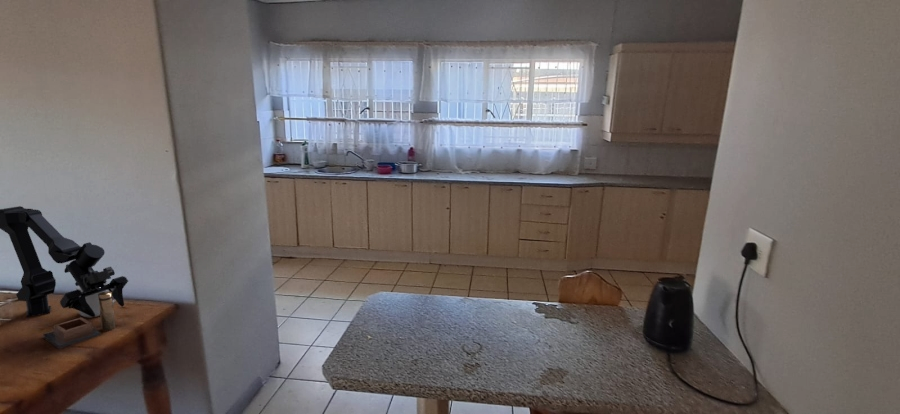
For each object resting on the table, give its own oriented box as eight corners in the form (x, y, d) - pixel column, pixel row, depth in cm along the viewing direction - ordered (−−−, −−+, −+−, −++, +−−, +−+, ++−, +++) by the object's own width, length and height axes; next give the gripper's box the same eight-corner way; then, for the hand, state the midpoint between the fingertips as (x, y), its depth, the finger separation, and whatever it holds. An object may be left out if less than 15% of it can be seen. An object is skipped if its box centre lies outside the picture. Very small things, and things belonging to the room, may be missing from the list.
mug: (80, 320, 154) (76, 291, 152) (78, 311, 160) (75, 283, 158) (121, 312, 162) (119, 284, 160) (119, 304, 168) (116, 277, 166)
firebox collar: (43, 337, 142) (41, 326, 141) (84, 324, 151) (83, 314, 150) (59, 348, 136) (57, 337, 135) (100, 334, 145) (99, 324, 145)
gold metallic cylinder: (101, 327, 150) (97, 292, 147) (114, 325, 152) (111, 290, 150) (102, 332, 147) (98, 296, 145) (115, 329, 150) (111, 294, 147)
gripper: (61, 270, 138) (87, 309, 136) (122, 254, 155) (146, 289, 154) (48, 288, 142) (74, 326, 141) (109, 271, 159) (133, 305, 158)
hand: (109, 310), depth 148 cm, fingers open, 9 cm apart
